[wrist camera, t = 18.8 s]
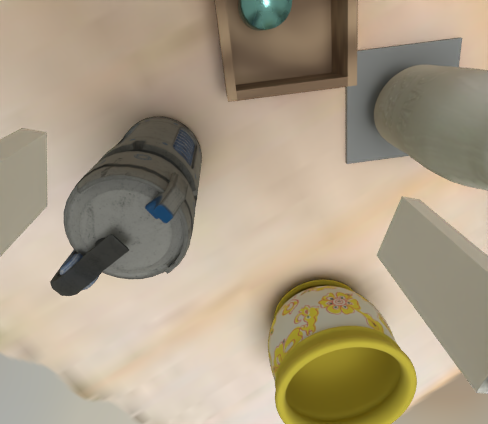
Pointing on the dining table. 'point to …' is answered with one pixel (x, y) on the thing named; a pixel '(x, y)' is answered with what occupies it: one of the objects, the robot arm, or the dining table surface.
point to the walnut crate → (289, 50)
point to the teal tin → (264, 13)
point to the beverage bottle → (133, 207)
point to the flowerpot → (336, 359)
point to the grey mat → (372, 82)
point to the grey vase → (439, 120)
